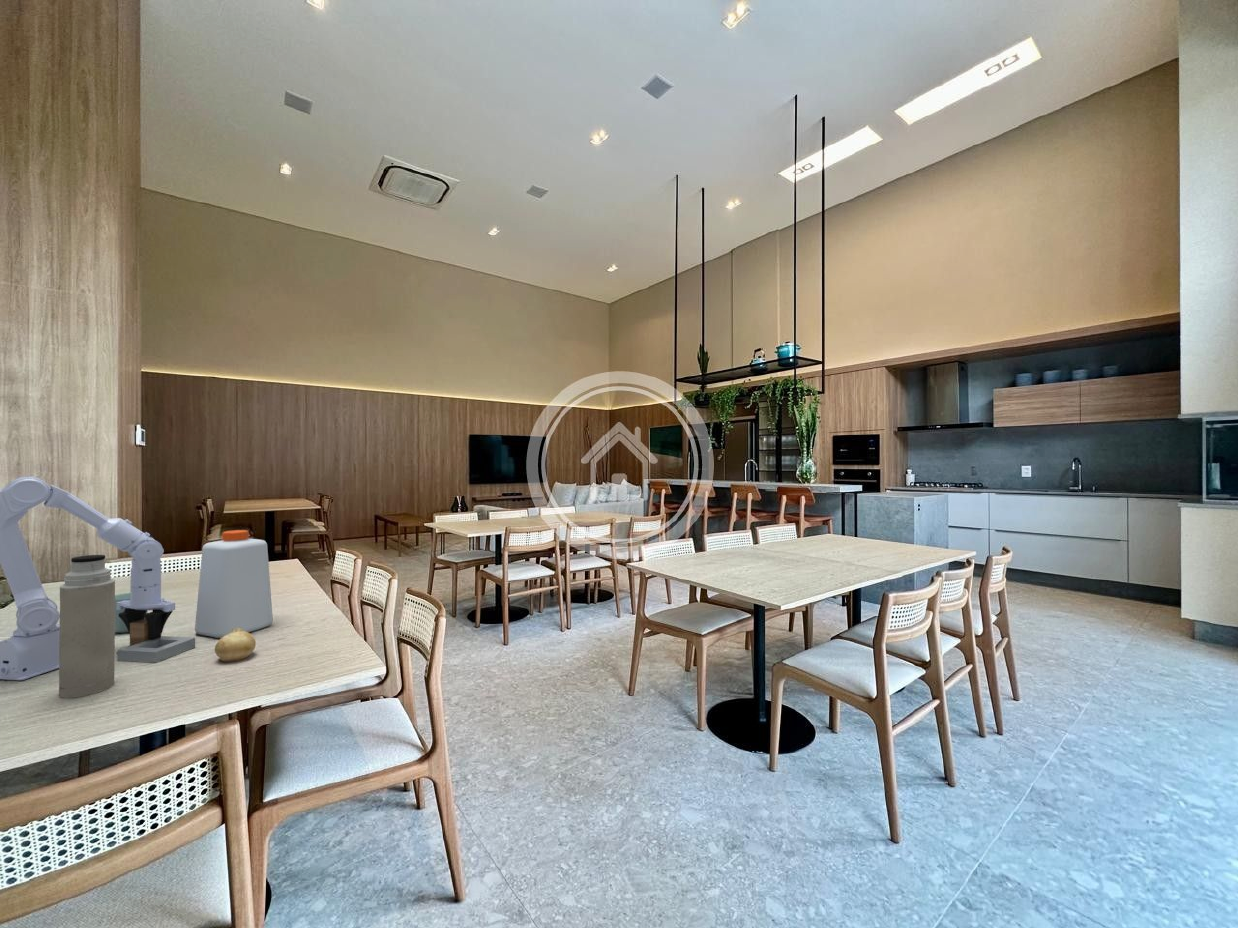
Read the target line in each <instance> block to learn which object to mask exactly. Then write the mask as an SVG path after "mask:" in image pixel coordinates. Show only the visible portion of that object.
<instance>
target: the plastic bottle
mask: <svg viewBox="0 0 1238 928" xmlns="http://www.w3.org/2000/svg"><path fill="white" fill-rule="evenodd" d="M249 537H250V532H249V531H248V530H246V529H236V530H227V531H223V532H222V534H221V538H222V539H221V540H217V541H212V542H211V541H210V542H207V543H205V544H203V546H202V550H201V559H200V560H201V561H200V571H199V580H198V581H199V582H198V591H197V592H198V593H197V600H196V601H197V602H196V612H195V622H194V623H195V624H194V632H195V633H196V634H197V635H201V636H206V637H211V638H217V639H221V638H222V637H224V636H225V635H227V634H230V633H232V632H233V630H231V629H230V628H232V629H236V628H240V629H242V630H243V631H245V632H248V633H250V632H251V633H252V632H254V631H257V630H260V629H265V628H266V627H269V626H270V625H271V624H272V623H273V620H274V618H273V617H274V615H273V605H272V604H273V603H272V592H271V591H272V590H271V578H270V577H271V576H270V566H269V564H270V562H269V553H268V543H267V542H266V540H264V539H258V538H249Z"/></svg>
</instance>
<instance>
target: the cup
mask: <svg viewBox="0 0 1238 928" xmlns="http://www.w3.org/2000/svg"><path fill="white" fill-rule="evenodd" d="M125 600H130V592H124V593H119V594H115V633H118V634H126V633H129V632H128V629H127V627H126V625H125V623H124V622H123V621H122V619H121V618H120V617H119V613H122V612H124V611H125V609H122V610H117V602H121V601H125ZM146 613H149V610H147V612H146ZM144 619H145V618H144Z"/></svg>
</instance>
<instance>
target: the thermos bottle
mask: <svg viewBox="0 0 1238 928" xmlns="http://www.w3.org/2000/svg"><path fill="white" fill-rule="evenodd" d="M105 560H106V555H104V554H89V555H87V554H86V555H80V556H75V557H72V558H71V565H70V568H71V569H70V571H68V572H67V573H65V575H64V578H63V581H64V584H61V585H59V615H60V617H59V621H58V622H59V623H58V624H59V668H58V696H59V697H60V698H63V699H64V698H65V699H73V698H81V697H85V696H89V695H93V694H96V693H100V692H103V691H105V690H107V689H110V688H112V687H113V686H114V685H115V652H116V651H115V642H116V641H115V640H116V639H115V638H116V637H115V633H116V632H115V595H116V580H115V579H113V578H111V575H112V572H111V569H109V568H106V563H105Z"/></svg>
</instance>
